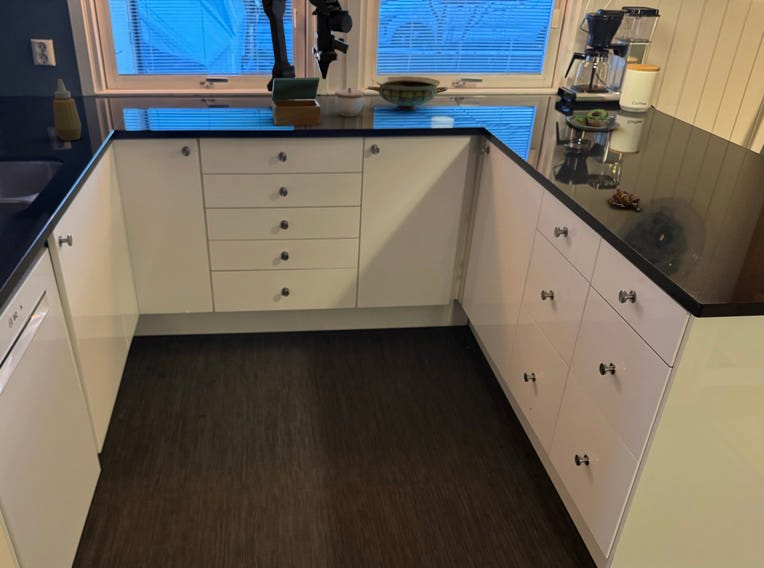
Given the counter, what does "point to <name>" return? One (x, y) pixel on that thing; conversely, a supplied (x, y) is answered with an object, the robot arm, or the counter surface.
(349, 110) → the trinket box
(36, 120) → the counter surface
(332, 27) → the robot arm
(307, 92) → the lid
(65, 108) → the squeeze bottle
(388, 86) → the ceramic bowl
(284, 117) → the toy box
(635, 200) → the pastry
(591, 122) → the salad plate
